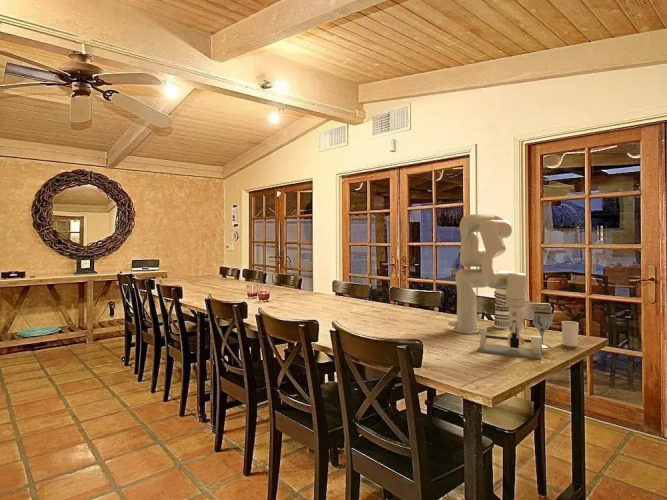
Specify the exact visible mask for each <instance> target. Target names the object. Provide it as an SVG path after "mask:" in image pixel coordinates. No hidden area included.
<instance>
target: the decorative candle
mask: <svg viewBox="0 0 667 500" xmlns="http://www.w3.org/2000/svg"><path fill="white" fill-rule="evenodd" d="M494 290H495V291H493V293H494V294H493V297H494V299H493V300H494V302H493V303H494V307H495V308H494V314H493V315H494V316H493V317H494V319H493V321H494V322H493V324H494V325H493V326H494V328H496V329H503V330H505V329H507V330H509V307H508V306H506V288H496V289H495V288H494Z"/></svg>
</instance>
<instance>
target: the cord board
mask: <svg viewBox="0 0 667 500" xmlns="http://www.w3.org/2000/svg"><path fill="white" fill-rule="evenodd" d="M479 333H480V337H479V338H480V340H479V347H478V348H477V353H482V354H483V353H485V354H491V355H500V356H501V355H502V356H510V357H516V358H525V359H531V360H532V359H534V360H542V355H543V350H542V348H541V335H534V334H532V335H531V338H530V339H528V338H525V337H526V336H522V338H521V344H522V345H525V343H527V344H528V343H530V347H529V348H528V347H521V346H519V348H511V347H510V345H501V344H492V343H488V339H492V340H503V341H508V336H497V335H488V327H486V326H485V327H484V326H482V327H481V328H480V332H479Z"/></svg>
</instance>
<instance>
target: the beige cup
mask: <svg viewBox="0 0 667 500" xmlns="http://www.w3.org/2000/svg"><path fill="white" fill-rule="evenodd" d="M578 335H579V322H577V321H571V320H570V321H568V320H564V321H561V337H562V338H561V341H562V343H561V344H562V345H563V346H565V345H566V347H577V346H578V338H579V336H578Z"/></svg>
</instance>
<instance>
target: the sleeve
mask: <svg viewBox="0 0 667 500" xmlns="http://www.w3.org/2000/svg"><path fill="white" fill-rule="evenodd" d="M507 337H508V340H507V346H510V338H511V332H509V333H508V334H507ZM522 337H523V334H522V333H521V334H520V333H519V334H518V338H519V347H522V345H523V344H521V338H522Z"/></svg>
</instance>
